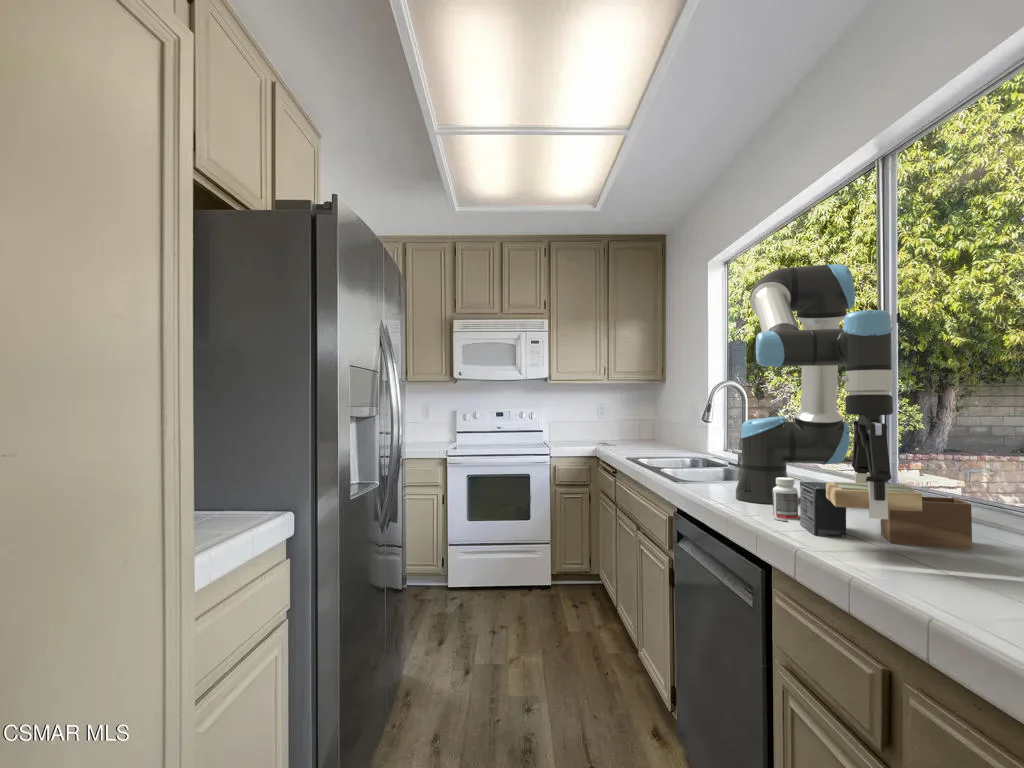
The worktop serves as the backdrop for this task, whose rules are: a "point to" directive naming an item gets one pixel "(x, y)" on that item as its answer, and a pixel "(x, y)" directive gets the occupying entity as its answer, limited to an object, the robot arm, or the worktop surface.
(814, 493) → the small box
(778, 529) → the worktop surface
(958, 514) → the tea box
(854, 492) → the lid
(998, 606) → the worktop surface
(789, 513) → the pill bottle
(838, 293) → the robot arm
